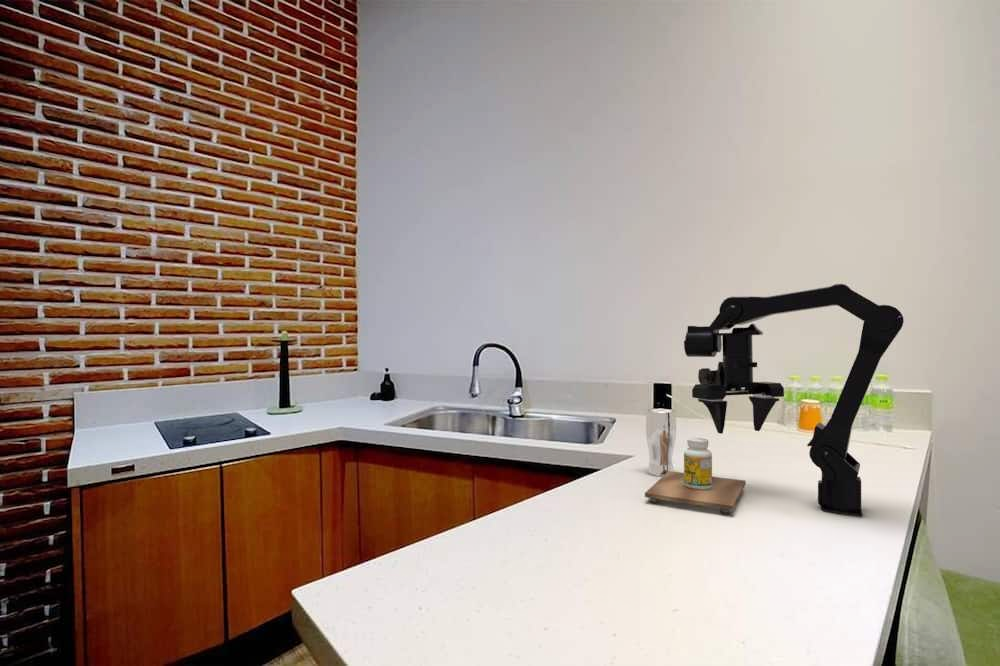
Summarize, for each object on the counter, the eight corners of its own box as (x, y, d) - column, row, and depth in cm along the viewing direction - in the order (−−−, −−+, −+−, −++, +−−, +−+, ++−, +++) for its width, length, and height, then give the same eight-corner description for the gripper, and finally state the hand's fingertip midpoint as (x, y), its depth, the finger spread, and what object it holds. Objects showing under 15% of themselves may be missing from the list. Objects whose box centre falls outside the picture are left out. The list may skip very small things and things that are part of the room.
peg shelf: (745, 490, 115) (745, 480, 115) (733, 517, 98) (733, 506, 98) (668, 479, 123) (668, 471, 123) (644, 503, 106) (644, 492, 106)
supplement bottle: (717, 489, 108) (717, 441, 108) (695, 491, 107) (695, 442, 107) (700, 482, 114) (700, 436, 114) (678, 484, 112) (678, 437, 112)
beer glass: (680, 477, 125) (680, 412, 125) (649, 477, 125) (650, 412, 125) (671, 469, 132) (671, 408, 132) (642, 469, 132) (642, 408, 132)
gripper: (746, 355, 123) (748, 424, 123) (675, 357, 118) (677, 428, 118) (785, 356, 113) (786, 431, 112) (709, 358, 107) (710, 437, 107)
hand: (738, 432), depth 113 cm, fingers open, 9 cm apart
